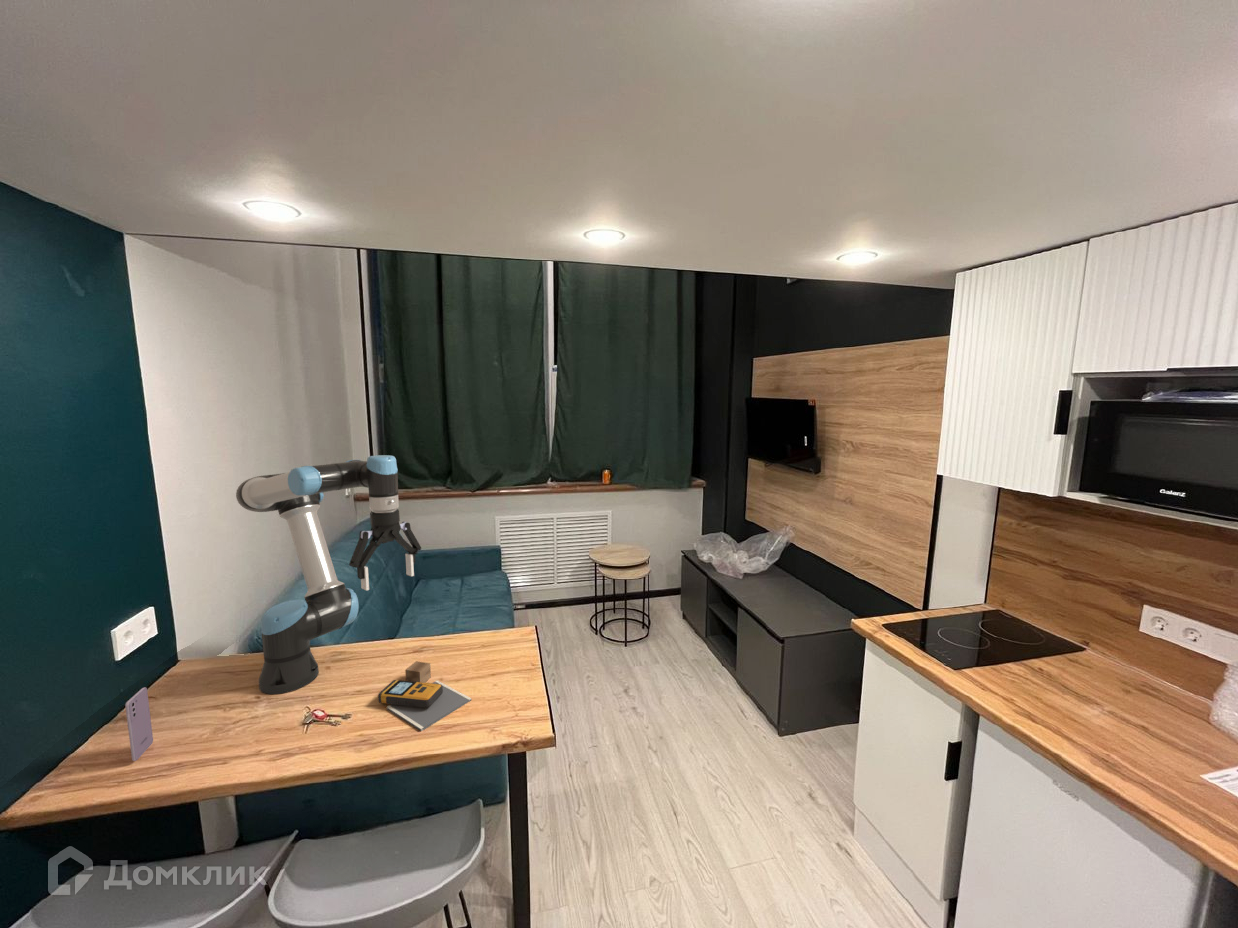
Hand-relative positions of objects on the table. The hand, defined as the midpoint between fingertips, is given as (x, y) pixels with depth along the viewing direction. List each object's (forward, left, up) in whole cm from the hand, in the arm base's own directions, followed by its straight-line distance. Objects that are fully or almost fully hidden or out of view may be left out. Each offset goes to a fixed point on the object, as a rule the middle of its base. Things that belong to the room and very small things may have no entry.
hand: (388, 581), depth 141 cm
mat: (+16, +1, -33) cm, 36 cm away
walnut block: (+3, +6, -33) cm, 33 cm away
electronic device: (+17, +2, -34) cm, 38 cm away
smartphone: (-24, -50, -33) cm, 64 cm away
